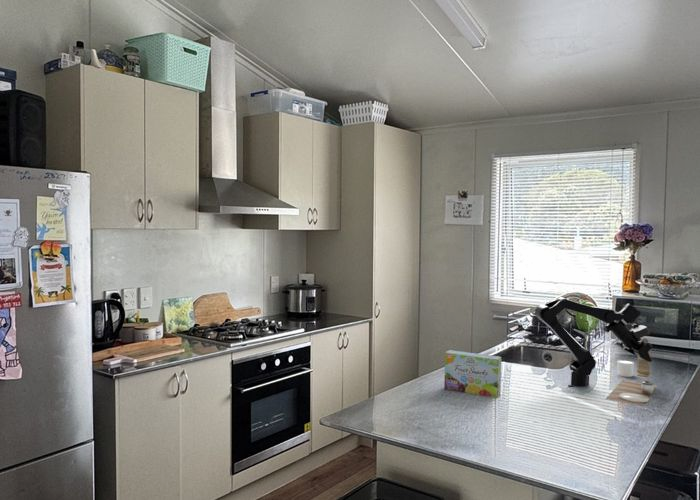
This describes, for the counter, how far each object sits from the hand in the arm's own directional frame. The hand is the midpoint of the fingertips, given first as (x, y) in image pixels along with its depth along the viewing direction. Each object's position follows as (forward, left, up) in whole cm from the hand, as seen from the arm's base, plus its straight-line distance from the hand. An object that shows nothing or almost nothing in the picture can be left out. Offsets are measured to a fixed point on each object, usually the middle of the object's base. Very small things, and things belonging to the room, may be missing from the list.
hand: (647, 360), depth 235 cm
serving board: (-13, -5, -12) cm, 19 cm away
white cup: (+7, +16, -12) cm, 21 cm away
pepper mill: (-1, +1, -6) cm, 7 cm away
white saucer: (-20, -11, -11) cm, 25 cm away
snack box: (-71, +19, -12) cm, 75 cm away
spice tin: (-9, -8, -11) cm, 16 cm away
